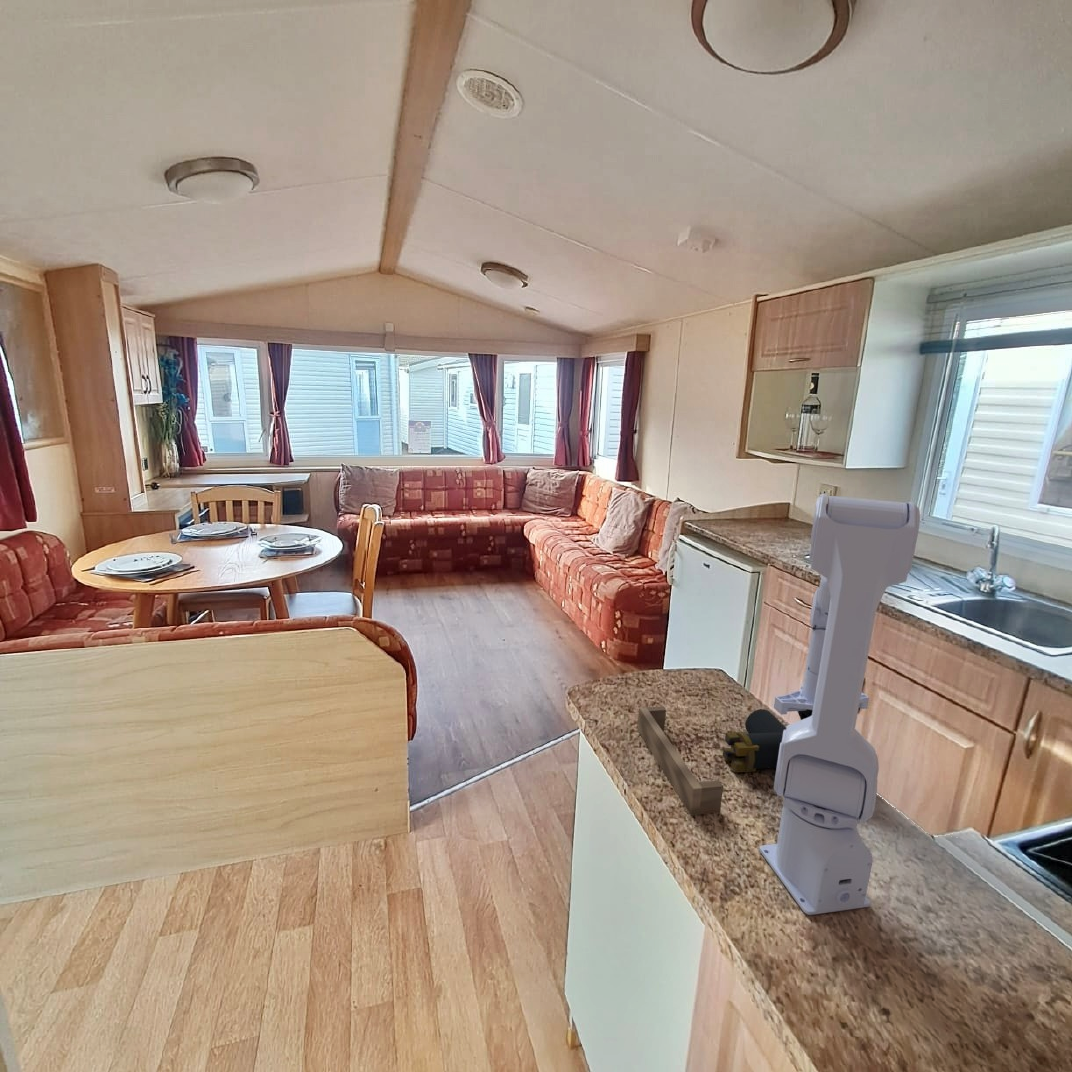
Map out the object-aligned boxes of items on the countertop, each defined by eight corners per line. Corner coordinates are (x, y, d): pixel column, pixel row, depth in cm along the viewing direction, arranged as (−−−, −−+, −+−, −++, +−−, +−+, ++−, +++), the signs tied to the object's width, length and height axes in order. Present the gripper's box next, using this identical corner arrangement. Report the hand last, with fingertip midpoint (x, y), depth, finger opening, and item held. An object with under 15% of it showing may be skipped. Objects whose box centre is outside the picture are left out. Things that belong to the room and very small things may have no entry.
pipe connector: (759, 767, 78) (710, 709, 92) (753, 801, 79) (706, 739, 94) (835, 763, 80) (775, 707, 94) (828, 797, 81) (771, 736, 95)
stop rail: (720, 812, 76) (723, 786, 75) (690, 815, 76) (693, 788, 75) (661, 727, 96) (663, 706, 95) (637, 729, 95) (639, 707, 94)
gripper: (851, 656, 90) (837, 733, 94) (767, 660, 88) (756, 739, 91) (885, 677, 84) (869, 759, 87) (795, 682, 81) (782, 766, 84)
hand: (813, 750), depth 88 cm, fingers closed
